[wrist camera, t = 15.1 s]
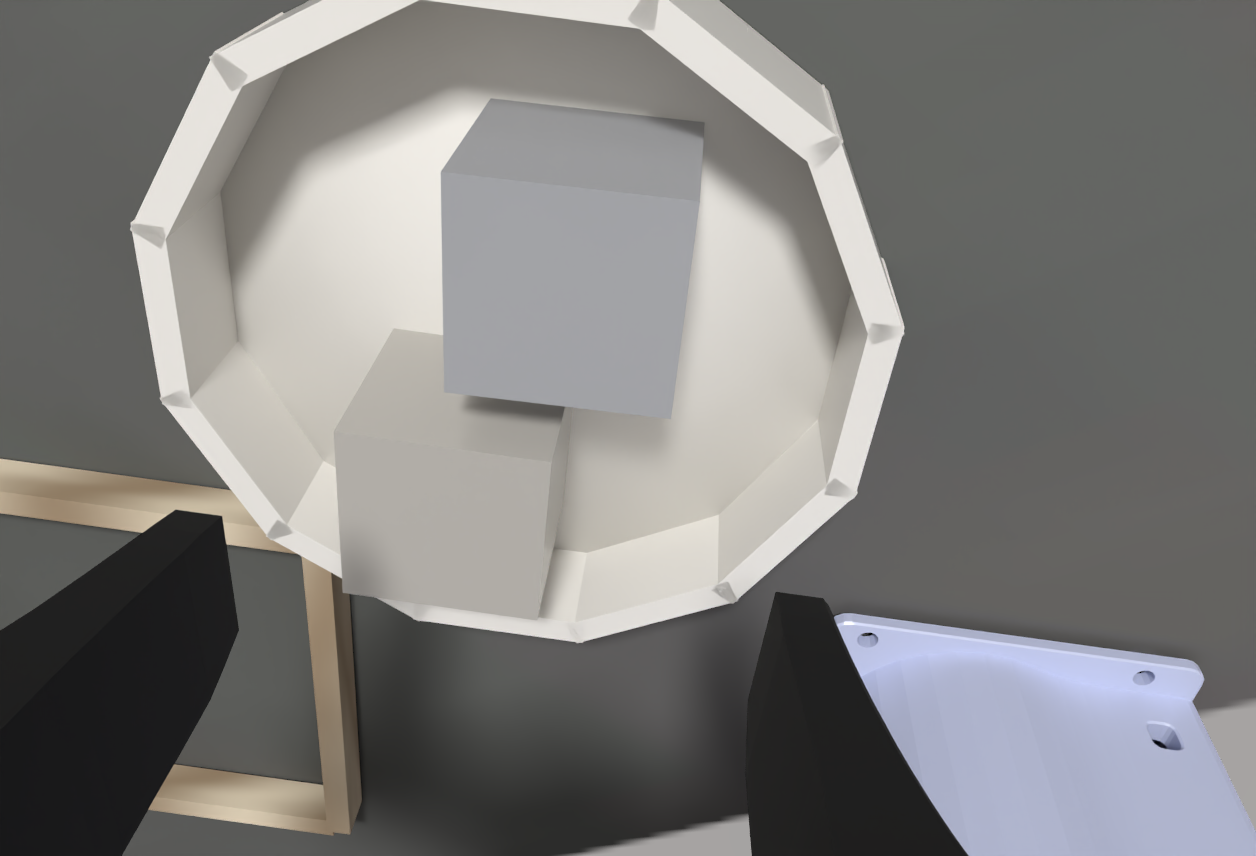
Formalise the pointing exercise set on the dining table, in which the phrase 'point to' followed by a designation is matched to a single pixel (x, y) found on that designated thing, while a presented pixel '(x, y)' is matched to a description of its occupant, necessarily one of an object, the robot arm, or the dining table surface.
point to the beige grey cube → (447, 487)
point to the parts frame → (329, 634)
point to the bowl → (413, 298)
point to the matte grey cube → (569, 256)
